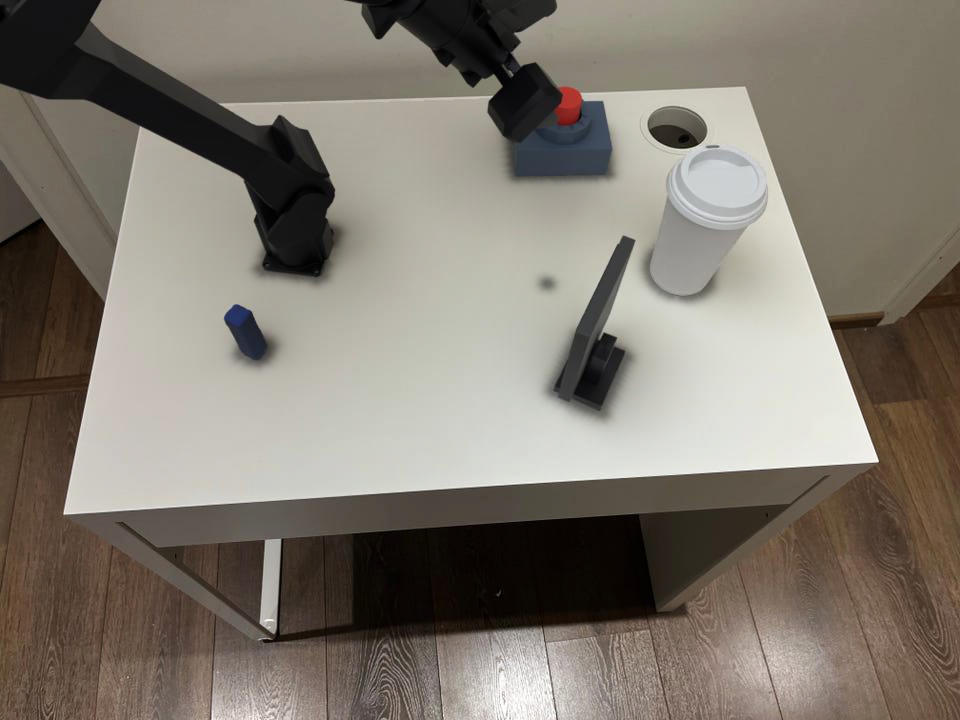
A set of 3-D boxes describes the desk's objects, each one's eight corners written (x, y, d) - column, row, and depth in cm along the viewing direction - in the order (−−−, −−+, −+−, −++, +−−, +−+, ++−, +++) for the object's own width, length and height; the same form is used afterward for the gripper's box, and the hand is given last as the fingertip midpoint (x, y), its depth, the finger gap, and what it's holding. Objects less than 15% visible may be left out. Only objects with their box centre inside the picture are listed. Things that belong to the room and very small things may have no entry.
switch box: (515, 176, 84) (518, 138, 78) (510, 128, 88) (513, 89, 82) (606, 174, 84) (615, 136, 79) (597, 127, 88) (606, 88, 83)
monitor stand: (553, 390, 70) (560, 363, 65) (578, 337, 73) (587, 306, 68) (599, 411, 69) (611, 384, 64) (623, 355, 72) (636, 326, 67)
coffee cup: (726, 248, 79) (779, 149, 66) (717, 316, 75) (772, 224, 62) (642, 229, 80) (678, 128, 67) (629, 296, 76) (665, 201, 63)
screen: (556, 396, 66) (574, 330, 56) (597, 309, 71) (621, 234, 61) (569, 402, 66) (590, 337, 55) (609, 314, 71) (636, 239, 60)
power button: (549, 126, 80) (551, 108, 78) (546, 104, 82) (548, 86, 80) (580, 126, 80) (584, 108, 78) (576, 104, 82) (580, 86, 80)
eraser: (257, 363, 71) (239, 327, 65) (240, 353, 71) (220, 316, 65) (271, 347, 71) (254, 310, 66) (253, 337, 72) (235, 300, 66)
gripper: (563, 3, 54) (642, 93, 66) (463, -119, 62) (550, -18, 74) (463, 110, 58) (554, 175, 71) (381, -17, 66) (476, 61, 79)
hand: (534, 93), depth 73 cm, fingers open, 9 cm apart
